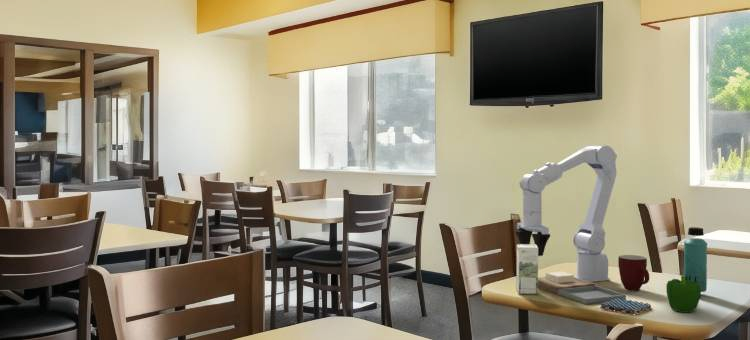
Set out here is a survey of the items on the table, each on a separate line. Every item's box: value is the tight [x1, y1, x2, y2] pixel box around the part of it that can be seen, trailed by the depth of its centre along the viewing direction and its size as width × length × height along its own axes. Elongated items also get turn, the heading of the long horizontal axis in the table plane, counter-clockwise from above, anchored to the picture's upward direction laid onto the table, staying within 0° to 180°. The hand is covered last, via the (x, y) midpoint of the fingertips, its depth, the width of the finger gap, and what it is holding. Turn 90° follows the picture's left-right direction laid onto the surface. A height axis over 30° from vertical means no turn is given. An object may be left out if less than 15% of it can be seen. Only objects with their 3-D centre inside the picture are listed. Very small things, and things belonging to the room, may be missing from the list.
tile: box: [545, 271, 575, 283], centre depth 207 cm, size 6×6×2 cm
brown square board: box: [538, 276, 596, 295], centre depth 206 cm, size 14×14×2 cm
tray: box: [556, 284, 627, 305], centre depth 193 cm, size 14×13×2 cm
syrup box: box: [515, 243, 539, 296], centre depth 199 cm, size 6×6×14 cm
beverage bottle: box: [682, 226, 708, 293], centre depth 195 cm, size 6×7×20 cm
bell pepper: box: [666, 274, 702, 313], centre depth 178 cm, size 8×8×10 cm
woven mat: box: [599, 298, 653, 316], centre depth 180 cm, size 10×11×2 cm
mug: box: [617, 254, 650, 292], centre depth 201 cm, size 10×8×10 cm
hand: (532, 253), depth 212 cm, fingers open, 7 cm apart
